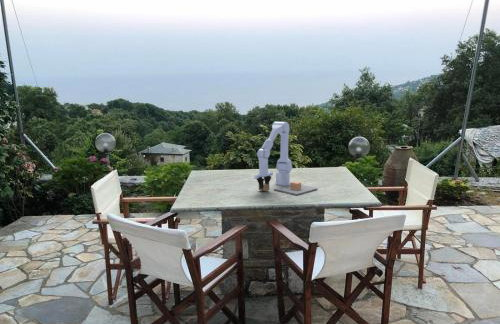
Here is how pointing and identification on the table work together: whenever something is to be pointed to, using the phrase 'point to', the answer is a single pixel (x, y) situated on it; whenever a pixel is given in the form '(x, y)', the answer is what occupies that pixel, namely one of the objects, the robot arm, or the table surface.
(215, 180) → the table surface
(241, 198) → the table surface
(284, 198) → the table surface
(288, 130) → the robot arm
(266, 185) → the brick walnut
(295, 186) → the brick terracotta
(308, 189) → the tower board
